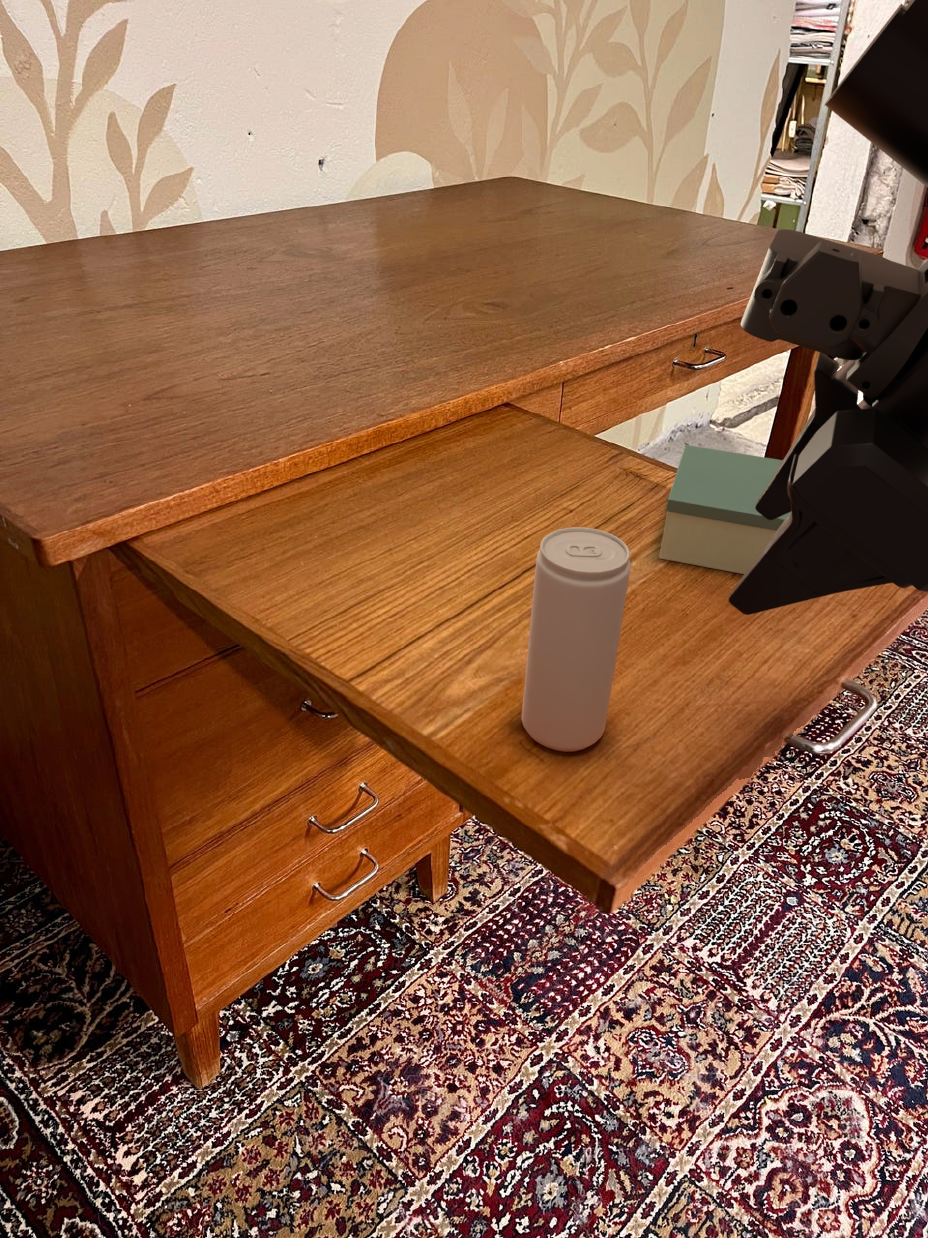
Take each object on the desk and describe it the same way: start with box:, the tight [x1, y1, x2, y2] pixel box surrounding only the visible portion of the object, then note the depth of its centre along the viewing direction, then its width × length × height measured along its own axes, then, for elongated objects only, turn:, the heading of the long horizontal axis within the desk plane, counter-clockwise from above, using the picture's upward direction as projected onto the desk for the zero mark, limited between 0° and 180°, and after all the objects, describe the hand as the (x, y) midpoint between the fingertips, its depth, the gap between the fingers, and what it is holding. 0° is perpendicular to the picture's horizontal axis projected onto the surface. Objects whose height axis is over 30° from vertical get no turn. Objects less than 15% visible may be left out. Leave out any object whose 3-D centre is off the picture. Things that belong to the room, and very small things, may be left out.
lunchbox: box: [658, 444, 791, 575], centre depth 74 cm, size 10×10×5 cm
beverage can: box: [521, 526, 631, 753], centre depth 52 cm, size 5×5×12 cm
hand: (750, 556), depth 45 cm, fingers open, 9 cm apart
